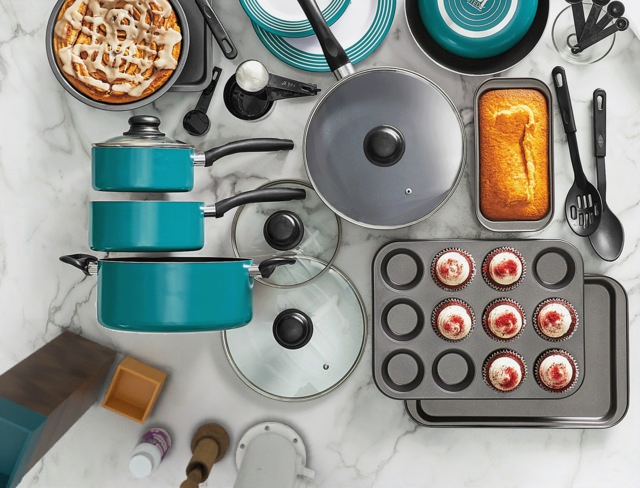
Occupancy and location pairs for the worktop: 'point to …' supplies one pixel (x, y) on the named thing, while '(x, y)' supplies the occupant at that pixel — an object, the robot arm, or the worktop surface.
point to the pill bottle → (149, 452)
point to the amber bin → (134, 390)
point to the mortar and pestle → (205, 453)
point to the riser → (58, 384)
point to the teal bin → (17, 440)
